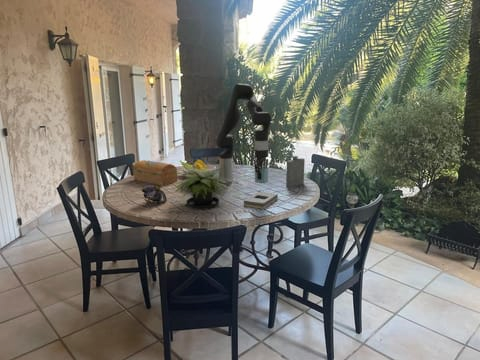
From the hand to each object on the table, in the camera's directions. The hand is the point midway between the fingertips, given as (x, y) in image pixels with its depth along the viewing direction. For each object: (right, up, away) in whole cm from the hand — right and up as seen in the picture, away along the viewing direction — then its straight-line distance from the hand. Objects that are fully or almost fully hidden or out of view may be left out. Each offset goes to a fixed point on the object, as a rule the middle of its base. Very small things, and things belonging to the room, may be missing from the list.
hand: (261, 178), depth 198 cm
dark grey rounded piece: (-62, -15, +5) cm, 64 cm away
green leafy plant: (-41, -6, +37) cm, 56 cm away
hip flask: (+25, -5, +39) cm, 47 cm away
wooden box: (-73, -2, +56) cm, 92 cm away
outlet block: (0, -14, +4) cm, 14 cm away
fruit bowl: (-45, +3, +71) cm, 84 cm away
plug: (0, -2, +1) cm, 2 cm away
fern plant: (-33, -15, +2) cm, 36 cm away
